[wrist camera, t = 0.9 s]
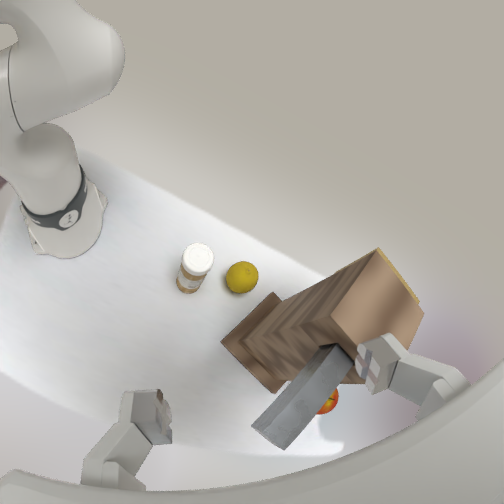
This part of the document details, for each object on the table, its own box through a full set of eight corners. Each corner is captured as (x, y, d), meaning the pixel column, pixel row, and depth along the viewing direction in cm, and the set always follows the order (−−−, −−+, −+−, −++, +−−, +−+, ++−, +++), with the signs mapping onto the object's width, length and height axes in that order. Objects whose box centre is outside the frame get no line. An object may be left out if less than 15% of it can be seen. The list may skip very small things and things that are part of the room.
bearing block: (220, 341, 48) (301, 314, 22) (270, 293, 55) (371, 226, 29) (271, 393, 48) (389, 410, 21) (315, 342, 54) (436, 312, 28)
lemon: (246, 268, 56) (261, 254, 49) (251, 296, 54) (267, 285, 47) (219, 270, 54) (230, 256, 47) (224, 298, 52) (235, 288, 45)
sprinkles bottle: (199, 271, 52) (214, 242, 40) (200, 294, 50) (215, 272, 39) (175, 270, 51) (183, 240, 39) (175, 293, 49) (182, 271, 37)
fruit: (288, 396, 48) (309, 400, 41) (312, 372, 52) (334, 372, 45) (308, 418, 48) (331, 424, 41) (330, 395, 51) (354, 397, 44)
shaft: (250, 425, 23) (261, 432, 20) (374, 271, 34) (389, 263, 32) (271, 442, 22) (284, 450, 20) (386, 287, 34) (402, 280, 32)
